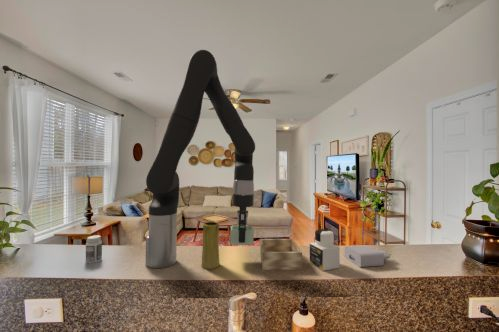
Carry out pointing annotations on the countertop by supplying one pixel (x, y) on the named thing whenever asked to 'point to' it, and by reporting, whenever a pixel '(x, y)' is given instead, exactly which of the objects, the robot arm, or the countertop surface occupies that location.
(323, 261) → the medicine bottle
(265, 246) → the crate large
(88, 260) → the pill bottle
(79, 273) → the countertop surface
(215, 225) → the vase
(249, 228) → the crate small
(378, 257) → the charger
